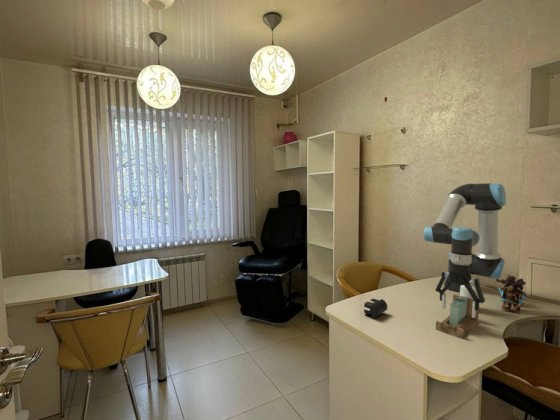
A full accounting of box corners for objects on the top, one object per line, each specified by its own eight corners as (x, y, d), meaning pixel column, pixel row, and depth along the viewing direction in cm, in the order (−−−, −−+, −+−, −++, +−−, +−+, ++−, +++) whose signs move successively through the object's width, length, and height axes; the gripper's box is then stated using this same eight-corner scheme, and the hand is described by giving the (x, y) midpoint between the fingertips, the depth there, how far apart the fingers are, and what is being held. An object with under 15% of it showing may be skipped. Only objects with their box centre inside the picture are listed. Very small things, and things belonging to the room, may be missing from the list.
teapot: (493, 300, 150) (494, 287, 150) (498, 298, 154) (498, 285, 153) (522, 308, 141) (523, 294, 140) (526, 305, 144) (527, 291, 144)
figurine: (499, 312, 135) (504, 276, 134) (492, 305, 144) (496, 271, 143) (526, 316, 132) (531, 279, 131) (517, 309, 141) (521, 274, 139)
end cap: (377, 321, 126) (378, 306, 125) (363, 316, 131) (363, 302, 130) (387, 314, 133) (387, 300, 132) (373, 309, 138) (374, 296, 137)
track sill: (435, 329, 118) (436, 306, 118) (453, 314, 133) (454, 294, 132) (462, 338, 111) (463, 314, 110) (477, 322, 125) (479, 300, 125)
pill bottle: (481, 313, 134) (483, 283, 133) (463, 311, 136) (464, 281, 135) (473, 306, 142) (475, 278, 141) (456, 305, 144) (457, 276, 143)
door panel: (448, 326, 119) (450, 303, 118) (458, 317, 127) (459, 296, 126) (456, 329, 117) (458, 306, 116) (465, 320, 125) (467, 298, 124)
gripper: (428, 259, 126) (426, 306, 128) (491, 270, 109) (488, 324, 110) (435, 256, 131) (432, 302, 133) (496, 267, 114) (493, 319, 115)
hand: (458, 312), depth 121 cm, fingers open, 11 cm apart
